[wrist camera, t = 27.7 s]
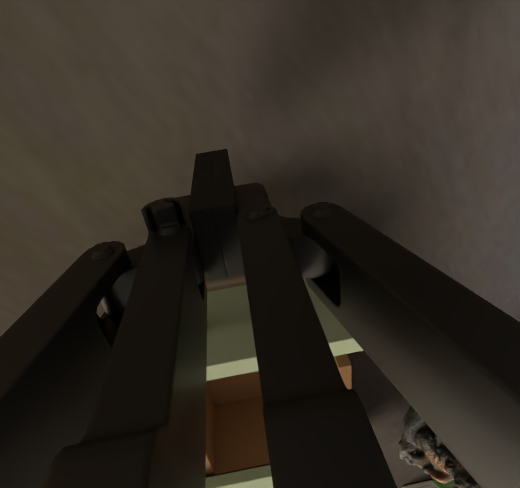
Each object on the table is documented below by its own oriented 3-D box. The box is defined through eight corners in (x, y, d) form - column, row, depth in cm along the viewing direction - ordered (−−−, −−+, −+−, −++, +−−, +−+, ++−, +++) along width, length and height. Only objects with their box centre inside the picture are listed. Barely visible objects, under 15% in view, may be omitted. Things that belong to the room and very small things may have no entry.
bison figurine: (447, 431, 40) (511, 536, 32) (389, 445, 41) (437, 554, 32) (455, 367, 34) (537, 476, 26) (386, 384, 34) (445, 499, 26)
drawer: (140, 247, 22) (114, 321, 16) (327, 213, 22) (368, 274, 17) (200, 402, 31) (197, 486, 25) (334, 376, 31) (361, 453, 25)
